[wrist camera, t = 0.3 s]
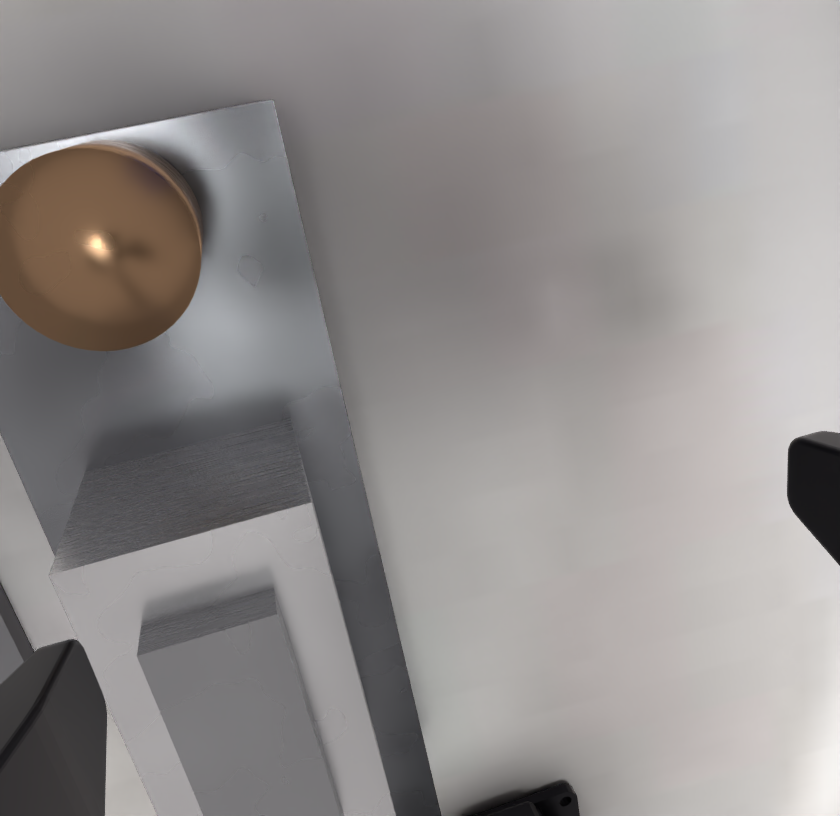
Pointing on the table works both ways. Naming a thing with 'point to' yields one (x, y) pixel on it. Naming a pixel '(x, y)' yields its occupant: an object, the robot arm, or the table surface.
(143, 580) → the grey rectangular block
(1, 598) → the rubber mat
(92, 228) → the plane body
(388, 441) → the table surface
